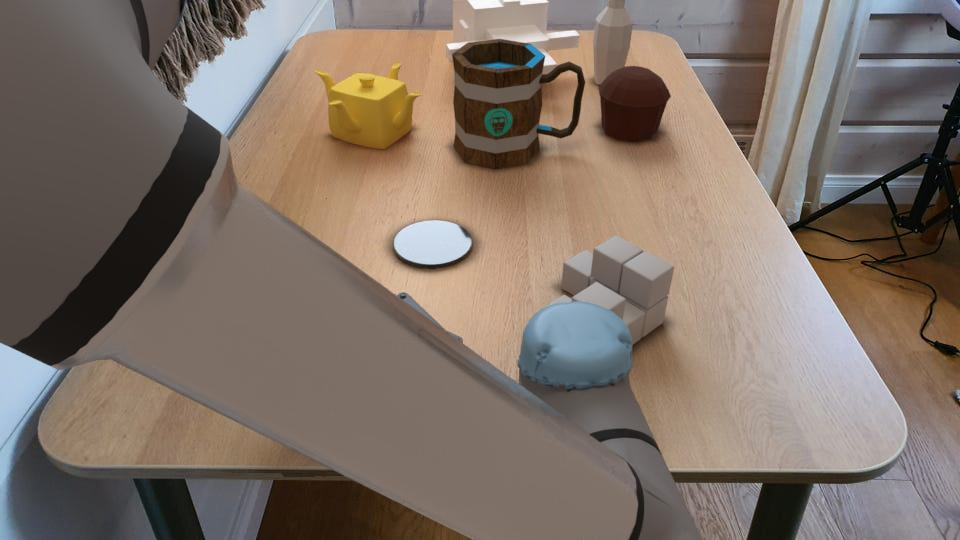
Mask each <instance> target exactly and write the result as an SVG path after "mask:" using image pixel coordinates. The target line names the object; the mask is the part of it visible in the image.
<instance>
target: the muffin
mask: <svg viewBox="0 0 960 540" xmlns="http://www.w3.org/2000/svg"><path fill="white" fill-rule="evenodd" d="M597 89H598V95H599V97H600V99H599V100H600V115H601V117H600V119H601V127H602V129H603V131H604V134H605V135H606V136H609V137H611V138H613V139H615V140H617V141H622V142H623V141H625V142H626V141H627V142H631V143H638V142H641V141H648V140H651V139H652V138H653V137H654V136H655V135H656V134H657V133H658V130H659V127H660V125H661V123H662V122H661V121H662V119H663V116H664V113H665V110H666V107H667V104H668V101H669V100H670V99H671V97H672V95H671V93H670V89H669V88H668V87H667V85H666V83H665V81H664V80H663V78H662V77H661V76H660V75H658V74H657V73H655V72H654V71H652V70H651V69H649V68H647V67H643V66H637V65H625V67H623V68H620V69H617V70H615V71H613V72H612V73H611V74H610V75H609V76H608V77H607V78H606V79H605V80H604V81H603V82H602V83H601V85H598V87H597Z"/></svg>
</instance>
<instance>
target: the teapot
mask: <svg viewBox="0 0 960 540" xmlns="http://www.w3.org/2000/svg"><path fill="white" fill-rule="evenodd" d="M401 66H402V62H400V61H397V62H396V63H394V64H393V65H392V66H391V67H390V69H389V71H388V75H387V77H385V76H382V75H376V74H372V73H366V72H355V73H354V74H352V75H350V76H348V77H346V78H344V79H343V80H341V81H340V82H338V83H335V81H334V79H333V78H332V76H331V75H330V74H329V73H328V72H327V71H324V70H320V69H315V71H314V72H315V74H316V75H318V76H319V77H320V79H321V80H322V82H323V84H324V87H325V91H326V97H327V101H328V107H327V111H328V113H327V116H328V125H329V126H328V127H329V130H330V133H331V135H332V137H333V138H336V139H338V140H341V141H343V142H347V143H349V144H352V145H357V146H360V147H366V148H370V149H376V150H385V149H388V148H389V147H390V146H392V145H393V144H395V143H396V142H397V141H399V140H400V139H402V138H403V137H404V136H405V135H406V134H408V133H409V132H410V131H411V129H412V125H413V111H414V103H415V100H416V99H417V98H418V97H421V96H423V93H422V92H409V93H408V88H407V86H406V83H405V82H403V81H401V80H399V70H400V69H401Z"/></svg>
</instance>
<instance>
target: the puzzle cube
mask: <svg viewBox="0 0 960 540" xmlns="http://www.w3.org/2000/svg"><path fill="white" fill-rule="evenodd" d="M592 251H593V253H592V252H591V251H588V250H587V249H583V250H582V251H580V252H579V253H577V254H575V255H574V256H572V257H569V258H568V259H566V260H564V261H563V263H562V273H561V275H562V276H561V289H562V290H564V291H565V292H567V293H568V294H571V295H572V297H569V296H568V295H566V294H562V295H560V296H559V297H557V298H556V299H555V300H553V301H551V302H550V303H548V304H546V305H545V306H543V307H542V308H541V309H543V308H545V307H547V306H550V305H552V304H556V303H564V302H566V303H571V302H573V301H580V302H587V303H592V304H596V305H599V306H602V307H604V308H606V309H608V310H610V311H612V312H613V313H615V314H616V315H617V316H619V317H620V318H621V319H622V320H623V321H624V323H625V324H626V325H627V327H628V328H629V330H630V333H631V336H632V346H633V345H635V344H637V343H638V342H639V341H640V340H641V339H642V338H644V337H646V336H647V335H649V334H651V332H652V331H654V330H655V329H657V328H658V327H659V326H660V325H662V324H663V323H664V321H665V315H666V311H667V306H668V301H669V296H668V295H669V294H670V291H671V287H672V281H673V276H674V271H675V266H674V265H673V264H671V263H669V262H667V261H666V260H664V259H662V258H660V257H658V256H656V255H655V254H652V253H651V252H648V251H647V250H645V251H644V249H643V248H641V247H639V246H637V245H636V244H634V243H632V242H631V241H628V240H626V239H624V238H623V237H620V236H618V235H613V236H612V237H610V238H609V239H607V240H605V241H604V242H602V243H600V244H599V245H597V246H595V247H594V248H593V250H592Z"/></svg>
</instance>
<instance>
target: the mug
mask: <svg viewBox="0 0 960 540" xmlns="http://www.w3.org/2000/svg"><path fill="white" fill-rule="evenodd" d="M452 57H453V62H452V63H453V70H454V88H453V99H452V103H453V112H454V131H455V132H454V142H453V149H454V150H455V151H456V153H457V154H458V155H459V157H460V158H461V160H462V161H463V162H464V163H467V164H472V165H476V166H480V167H483V168H484V167H485V168H488V169H489V168H490V169H493V170H498V169H504V168H509V167H516V166H521V165H527V164H528V163H529V162H530V161H531V160H532V159H533V158H534V156H536V154H537V153H538V152H539V151H540V150H541V149H540V148H541V147H540V135H544V136H550V137H554V138H556V139H557V138H558V139H564V138H566V137H569V136H572V135H573V133H574V131H575V130H576V129H577V127H578V125H579V122H580V116H581V110H582V101H583V97H584V96H583V95H584V90H585V85H586V79H585V75H584V72H583V68H582V66H580V65H578V64H576V63H573V62H571V61H566V62H563V63H560V64H557V67H555V68H554V69H553V70H552V71H551V72H550V73H548V74H542V71H543V66H544V60H545V55H544V54H543V53H541V52H540V51H539V50H538V49H537V48H535V47H534V46H533V45H532V44H528V43H522V42H516V41H510V40H504V39H494V40H486V41H478V42H469V43H467V44H465V45H464V46H462V47H461V48H460V49H458V50H457V51H456V52H454V53H453V54H452ZM568 71H571V72H572V73H575V74H576V78H577V85H576V90H575V94H574V98H573V105H572V114H571V121H570V123H569V124H568V127H567V126H566V127H565V128H562V129H559V128H556V127H553V126H550V125H544V124H540V119H541V115H542V108H543V91H542V90H543V89H542V86H543V84H550V83H552V82H554V81H555V80H556V79H557V78H558V77H559V76H560V75H561V74H564V73H565V72H568Z"/></svg>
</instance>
